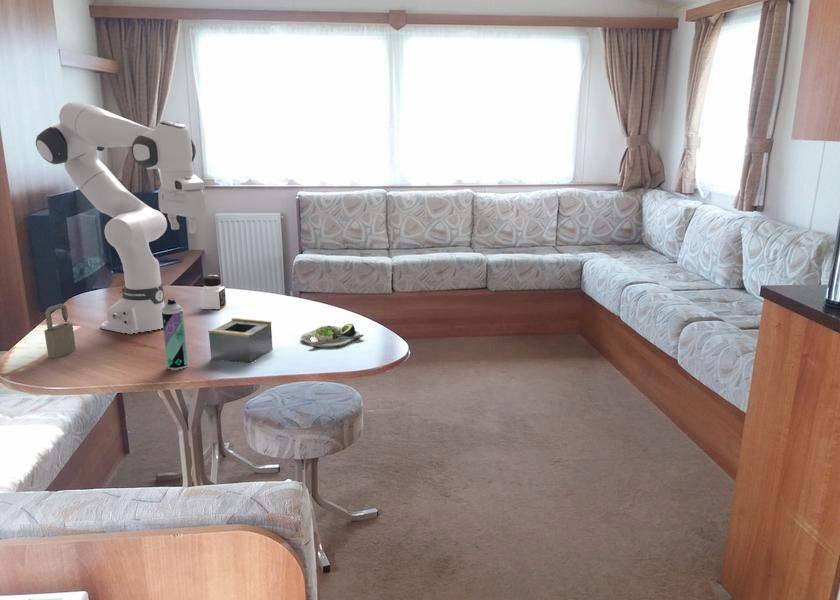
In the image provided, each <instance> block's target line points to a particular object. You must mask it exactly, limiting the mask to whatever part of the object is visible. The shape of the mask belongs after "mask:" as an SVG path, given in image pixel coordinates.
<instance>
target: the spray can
mask: <svg viewBox="0 0 840 600" xmlns="http://www.w3.org/2000/svg"><path fill="white" fill-rule="evenodd" d="M162 319H163V334H164V335H163V336H164V338H163V339H164V346H165V355H166V365H167V369H168V370H169V369H171V370H170V371H180V370H179V369H181V370H184V369H183V368H185V369H187V368H188V367H189V364H188V363H189V362H188V351H187V342H186V341H187V340H186V333H185V332H186V329H185V322H184V319H185V317H184V310H183V305H179V304H178V302H176V301H175V298H168V299H167V303H165V306H164V307H162ZM187 366H188V367H187ZM186 367H187V368H186Z"/></svg>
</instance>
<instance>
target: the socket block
mask: <svg viewBox="0 0 840 600" xmlns="http://www.w3.org/2000/svg"><path fill="white" fill-rule="evenodd" d="M207 332H208V338H209V348H210V360H213V359H216V360H215V361H221V360H224V361H223V362H230V361H231V363H239V362H240V364H247V363H250V364H249V365H251V364H252V362H253V363H254V362H256V361H257V360H259V359H260V358H262V357H263V356H265V355H266V354H268V353H269V352H271V351H273V333H272V332H273V331H272V321H271V320H270V321H268V320H263V319H262V320H261V319H260V320H258V319H249V318H238V317H232V318H231V320H229V321H228V322H226V323H224V324H222V325H220V326H218V327H216V328H215V329H208V330H207ZM255 360H256V361H255Z"/></svg>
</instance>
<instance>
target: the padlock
mask: <svg viewBox="0 0 840 600" xmlns="http://www.w3.org/2000/svg"><path fill="white" fill-rule="evenodd" d="M57 310H61V313H62V319H63V320H64V322H65V323H64V322H63V323H60V324H57V325H53V319H52V312H54V311H57ZM44 315H45V321H46V329H45V330H44V336H45V337H44V338H45V344H46V345H45V346H46V350H47V351H46V352H47V357H48V358H51V359H56V358H60V357H64V356H66V355H68V354H71V353H73V352H74V351H75V350H76V349H77V347H76V341H75V340H76V339H75V334H74V333H75V332H74V327H73V323H70V322H68V317H69V316H68V307H67V305H66V304H64V303H58V304H55V305H52V306H49V307H47V308H46V310H45V312H44Z"/></svg>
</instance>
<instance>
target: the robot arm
mask: <svg viewBox="0 0 840 600" xmlns="http://www.w3.org/2000/svg"><path fill="white" fill-rule="evenodd" d="M58 119H59V123H56V124H55V125H53V126H49V127H48V128H45V129H44V130H42V131H41V132H40V133H39V134H38V135H37V136H36V139H35V146H36V149H37V152H38V153H39V154H40V156H41V157H42V158H43V159H44V160H45V161H46V162H48V163H49V164H52V165H60V164H64V169H65V171H66V173H67V175H68V176H69V178H70V180H71V181H72V182H73V184H74V185H75V186H76V187H77V188H78V190H79V191H80V192H81V193H82V194H83V195H84V196H85V198H86V199H87V200H88V201H89V203H91V204H92V205H93V206H94V208H95V209H96V210H98V212H100V213H102V214H104V215H107V216H109V217H111V219H110V220H108V222H107V223H106V224H105V226H104V237H105V239H106V241H107V243H108V244H109V245H111V246H112V247H114V249H115V250H116V252H117V254H118V257H119V258H120V262H121V264H122V265H121V266H122V270H123V277H124V283H125V286H124V287H123V288H119V289H118V291H119V292H118V293H119V294H120V293H122V295H121V298H120V299H119V300H117V301H116V302H115V303H114V304H113V305H111V306H110V307H109V309H108V311H107V317H106V318H107V320H105V321H104V322H102V323H101V324H100V329H103V330H107V331H112V332H117V333H122V334H125V333H127V334H126V335H134V334H133V333H135V334H139V333H138V332H141V333H145V332H144V331H150V332H152V331H151V330H156V329H160V330H162V329H161V328H163V319H162V307H164V306H166V304H165V302H164V297H165V296H164V294H165V293H164V285H163V283H162V279H161V269H160V262H159V260H158V259H157V258H156V257H154V255H153V253H152V251H151V248H150V243H151V242H154V241H157V240H158V239H160V237H161V236H163V235H164V234H165V233H166V231H167V228H168V222H169V223H170V228H171V230H174V231H176V230H179V229H180V223H179V222H178V220H177V216H180V217H185V218H187V221H188V226H187V228H186V229H187V233H189V234H195V233H197V224H198V219H199V218H204V217H205V216H206V211H207V209H206V207H207V206H206V196H205V192H204V191H203V190H205V186H206V185H205V181H203V180H202V179H201V178H200V177H198V176H197V175H196V174H195V168H194V165H193V162H194V160H195V157H196V153H197V151H196V150H197V149H196V146H195V144H194V141H193V140H192V139H191V138H192V137H191V134H190V131H189V128H188V126H187V125H186V124H184V123H182V122H179V121H173V120H163V121H160V122H157V124H156V126H155V127H154V128H153V127H151V126H147V125H143V124H141V123H138V122H135V121H133V120H130V119H129V118H128V119H127V118H125V117H123V116H120V115H118V114H115V113H113V112H110V111H108V110H106V109H104V108H101V107H98V106H96V105H93V104H91V103H85V102H81V101H71V102H70V101H69V102H67V103H66V104H64V105H63V106H62V108H61V109H60V111H59V115H58ZM125 147H126V148H127V147H131V154H132V158H133V160H134V162H135V163H136V164H137V165H138V167H140V168H142V169H146V170H156V169H157V170H158V169H160V177H161V178H160V179H161V183H160V186H159V188H158V194H157V196H158V200H157V201H158V208H159V210H157V209H154V208H152V207H151V206H150V205H147V204H146V203H145V202H143V201H142V200H140V198H139V197H137V196H135V195H134V194H133V193H131V192H130V191H129V190H128V189H127V188H126V187H125V186H124V185H123V183H121V182H120V181H119V179H117V177H116V176H115V175H114V174H113V173H112V171H111V170H109V168H108V167H107V166H106V165H105V164H104V163H103V162H102V161H101V160H100V159H99V157H98V153H97V152H98V151H99V152H103V151H104V150H105V148H125ZM164 214H167V218H166V217H165V215H164ZM167 219H168V221H167ZM163 329H164V328H163ZM156 331H157V330H156Z"/></svg>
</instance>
